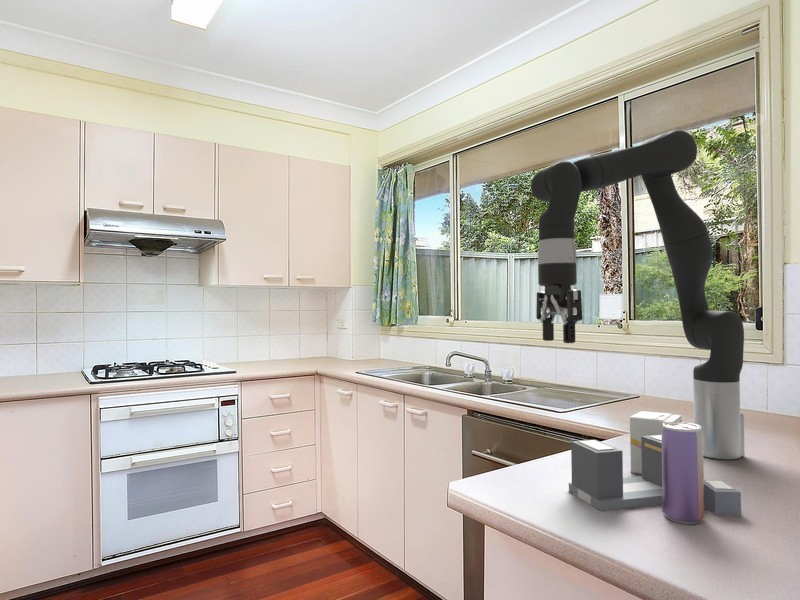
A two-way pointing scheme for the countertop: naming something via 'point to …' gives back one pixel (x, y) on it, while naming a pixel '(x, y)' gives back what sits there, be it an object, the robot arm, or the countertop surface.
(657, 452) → the grey u-shaped block
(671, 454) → the beverage can
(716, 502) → the block
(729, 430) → the robot arm
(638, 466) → the ink box
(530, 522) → the countertop surface
